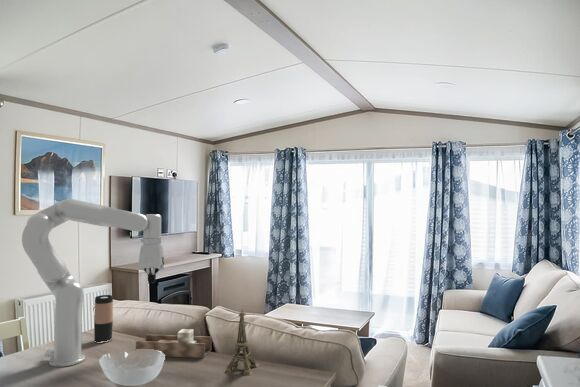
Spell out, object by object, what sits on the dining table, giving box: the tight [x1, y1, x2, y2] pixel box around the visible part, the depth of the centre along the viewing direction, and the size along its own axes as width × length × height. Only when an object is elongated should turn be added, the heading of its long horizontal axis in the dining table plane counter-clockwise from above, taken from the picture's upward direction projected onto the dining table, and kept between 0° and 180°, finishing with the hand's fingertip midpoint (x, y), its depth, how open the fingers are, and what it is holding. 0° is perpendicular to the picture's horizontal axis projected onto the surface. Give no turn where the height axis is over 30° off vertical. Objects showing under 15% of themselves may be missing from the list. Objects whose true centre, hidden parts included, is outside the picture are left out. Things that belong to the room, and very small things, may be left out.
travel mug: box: [93, 294, 114, 342], centre depth 185 cm, size 8×8×20 cm
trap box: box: [135, 334, 212, 359], centre depth 170 cm, size 29×10×6 cm, turn 84°
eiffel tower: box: [222, 310, 260, 376], centre depth 153 cm, size 11×11×25 cm
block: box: [177, 328, 195, 343], centre depth 169 cm, size 5×5×5 cm
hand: (151, 283), depth 180 cm, fingers closed
